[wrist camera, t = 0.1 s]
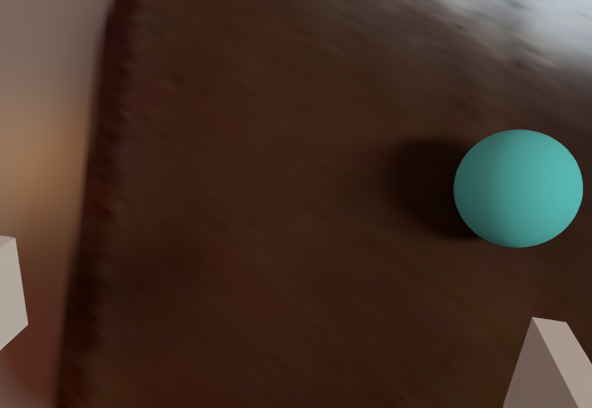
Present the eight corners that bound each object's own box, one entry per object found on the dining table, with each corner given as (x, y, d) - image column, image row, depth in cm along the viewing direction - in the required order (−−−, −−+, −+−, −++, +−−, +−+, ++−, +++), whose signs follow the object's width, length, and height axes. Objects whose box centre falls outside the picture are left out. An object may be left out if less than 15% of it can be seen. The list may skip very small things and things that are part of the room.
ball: (549, 261, 27) (608, 245, 21) (438, 247, 28) (466, 227, 22) (552, 159, 28) (608, 116, 23) (446, 147, 29) (474, 103, 23)
